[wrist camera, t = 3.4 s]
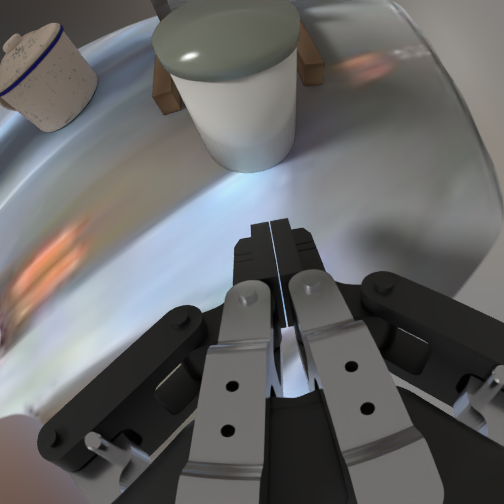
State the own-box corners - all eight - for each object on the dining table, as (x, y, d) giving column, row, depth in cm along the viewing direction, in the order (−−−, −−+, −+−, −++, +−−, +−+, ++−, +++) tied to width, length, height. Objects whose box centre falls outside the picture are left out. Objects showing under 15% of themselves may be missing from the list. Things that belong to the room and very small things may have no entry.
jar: (208, 184, 19) (146, 81, 9) (201, 110, 20) (156, 9, 10) (307, 165, 18) (320, 46, 8) (285, 94, 20) (280, -16, 10)
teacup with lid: (109, 61, 24) (62, -7, 12) (89, 120, 22) (19, 46, 10) (38, 96, 25) (-12, 48, 13) (16, 153, 23) (-48, 109, 12)
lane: (163, 115, 21) (105, 21, 10) (167, 28, 24) (137, -40, 13) (321, 84, 20) (331, -25, 9) (281, 5, 23) (275, -69, 12)
